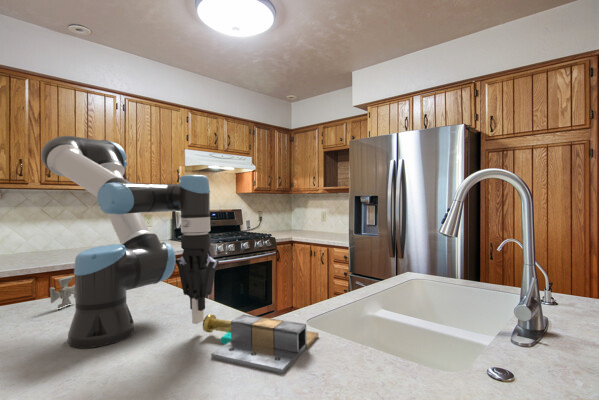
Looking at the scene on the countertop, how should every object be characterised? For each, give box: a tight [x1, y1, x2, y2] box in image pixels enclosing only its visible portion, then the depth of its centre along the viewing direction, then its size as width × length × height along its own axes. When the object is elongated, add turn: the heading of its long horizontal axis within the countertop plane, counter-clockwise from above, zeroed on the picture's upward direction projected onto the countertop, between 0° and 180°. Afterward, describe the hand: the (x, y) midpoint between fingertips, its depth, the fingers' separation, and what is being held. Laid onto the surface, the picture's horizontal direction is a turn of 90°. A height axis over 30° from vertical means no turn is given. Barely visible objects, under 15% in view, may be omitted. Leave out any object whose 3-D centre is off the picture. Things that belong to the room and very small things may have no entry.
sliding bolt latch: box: [210, 314, 319, 375], centre depth 82 cm, size 18×20×6 cm
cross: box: [49, 275, 75, 308], centre depth 114 cm, size 10×3×10 cm, turn 166°
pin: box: [202, 313, 232, 334], centre depth 85 cm, size 20×4×4 cm, turn 66°
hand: (198, 321), depth 90 cm, fingers closed
